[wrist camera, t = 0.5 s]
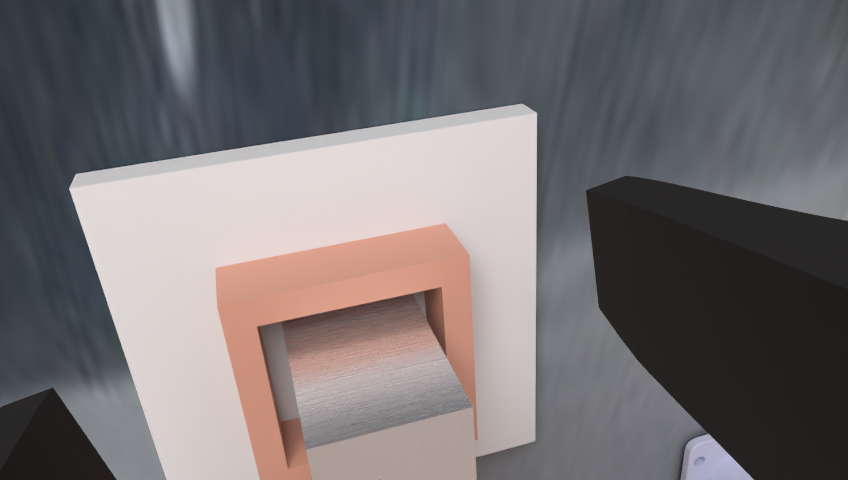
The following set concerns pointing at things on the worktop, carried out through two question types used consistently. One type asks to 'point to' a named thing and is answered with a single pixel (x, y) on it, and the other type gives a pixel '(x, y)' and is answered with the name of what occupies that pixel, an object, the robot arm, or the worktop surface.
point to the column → (379, 395)
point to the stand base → (316, 275)
